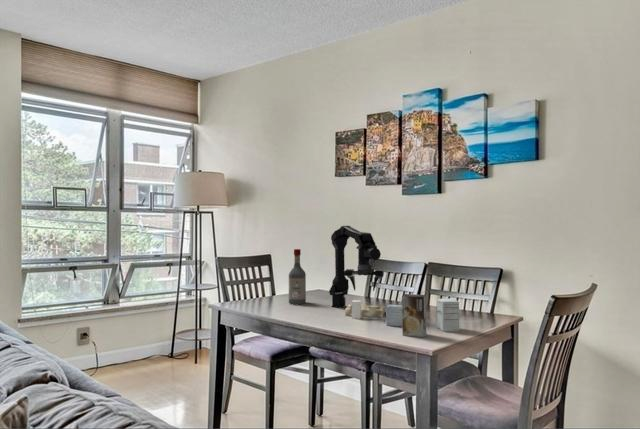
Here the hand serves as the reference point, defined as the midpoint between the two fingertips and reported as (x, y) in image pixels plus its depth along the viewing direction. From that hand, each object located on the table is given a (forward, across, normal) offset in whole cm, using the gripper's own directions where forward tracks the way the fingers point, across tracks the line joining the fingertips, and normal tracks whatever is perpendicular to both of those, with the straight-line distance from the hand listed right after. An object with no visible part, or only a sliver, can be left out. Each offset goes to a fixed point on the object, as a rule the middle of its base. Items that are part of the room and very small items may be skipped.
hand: (364, 290), depth 234 cm
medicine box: (+12, +16, -19) cm, 28 cm away
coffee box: (+12, +24, -35) cm, 44 cm away
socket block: (+12, 0, +4) cm, 13 cm away
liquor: (+12, -40, +26) cm, 49 cm away
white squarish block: (+12, -3, -6) cm, 14 cm away
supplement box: (+12, +38, -23) cm, 46 cm away
